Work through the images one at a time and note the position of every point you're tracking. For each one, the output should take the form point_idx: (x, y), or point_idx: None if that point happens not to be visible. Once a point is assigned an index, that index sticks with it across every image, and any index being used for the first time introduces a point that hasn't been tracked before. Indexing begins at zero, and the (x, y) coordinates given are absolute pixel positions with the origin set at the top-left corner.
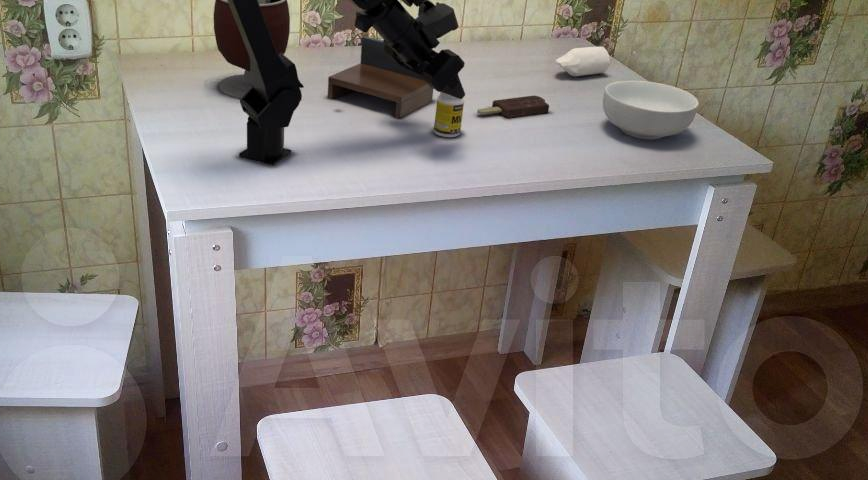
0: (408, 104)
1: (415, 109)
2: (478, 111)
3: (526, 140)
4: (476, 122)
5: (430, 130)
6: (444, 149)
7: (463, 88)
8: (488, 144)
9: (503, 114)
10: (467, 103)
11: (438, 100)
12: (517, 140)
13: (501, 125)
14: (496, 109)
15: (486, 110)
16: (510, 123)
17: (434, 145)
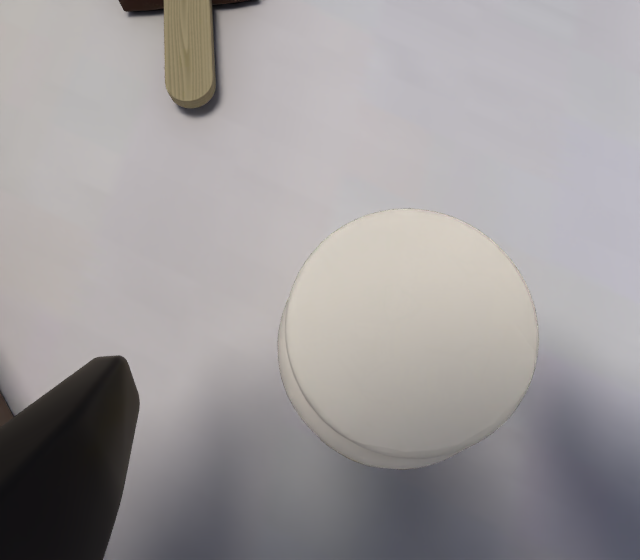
0: None
1: (3, 400)
2: (193, 101)
3: (527, 34)
4: (266, 154)
5: (313, 446)
6: (598, 491)
7: (471, 226)
8: (554, 221)
9: (230, 1)
10: (22, 91)
11: (394, 467)
12: (522, 71)
13: (331, 61)
14: (197, 10)
15: (194, 59)
16: (317, 14)
17: (533, 526)
